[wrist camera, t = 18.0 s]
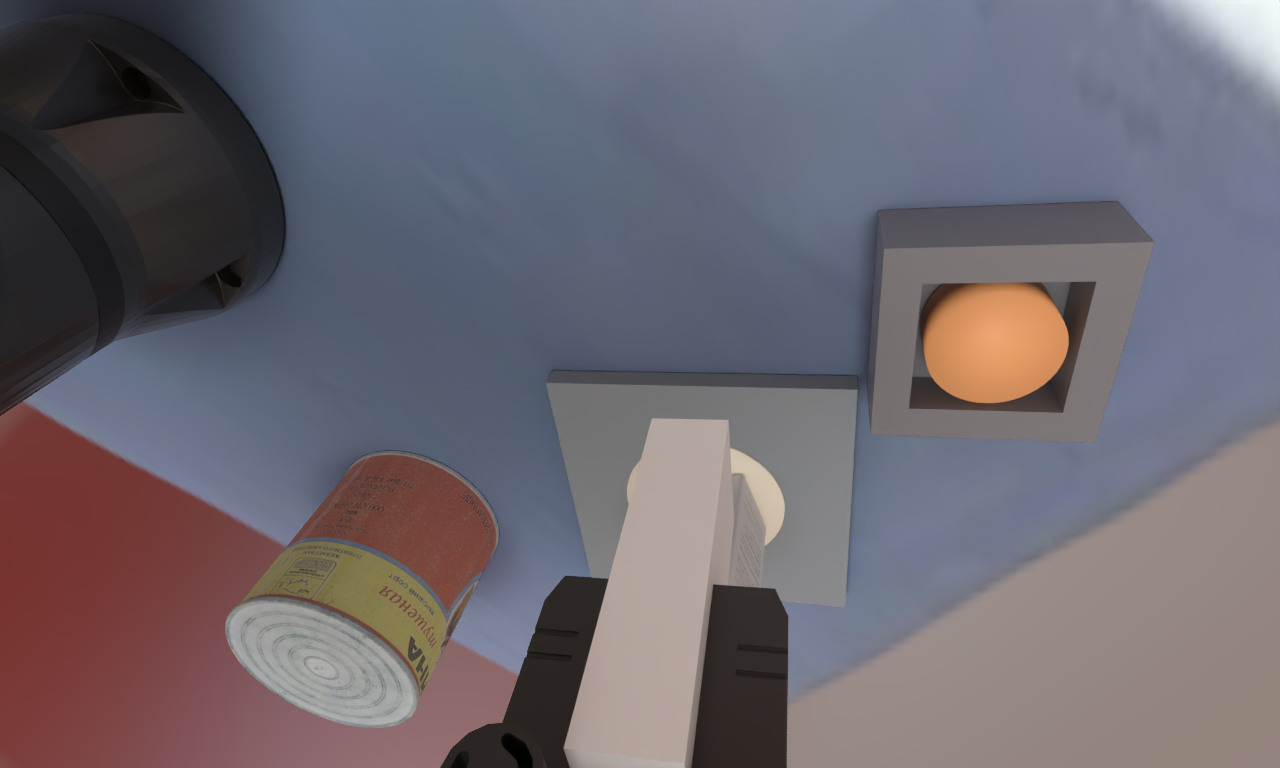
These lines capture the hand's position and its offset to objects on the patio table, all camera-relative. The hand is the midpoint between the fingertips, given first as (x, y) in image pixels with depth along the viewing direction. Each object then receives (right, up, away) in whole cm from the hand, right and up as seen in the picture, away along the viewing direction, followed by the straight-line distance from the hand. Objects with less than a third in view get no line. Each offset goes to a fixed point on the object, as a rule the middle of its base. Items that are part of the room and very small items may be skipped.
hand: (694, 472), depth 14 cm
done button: (+14, +4, +16) cm, 21 cm away
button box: (+14, +5, +17) cm, 23 cm away
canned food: (-16, -7, +34) cm, 39 cm away
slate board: (+3, -4, +27) cm, 28 cm away
